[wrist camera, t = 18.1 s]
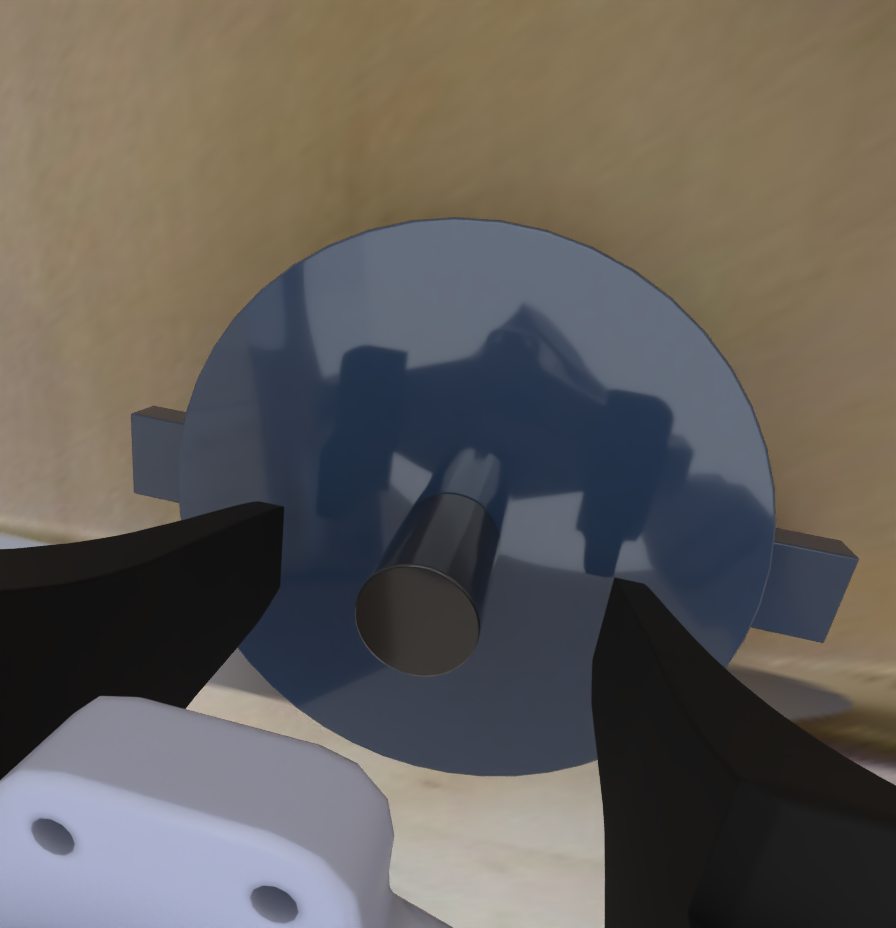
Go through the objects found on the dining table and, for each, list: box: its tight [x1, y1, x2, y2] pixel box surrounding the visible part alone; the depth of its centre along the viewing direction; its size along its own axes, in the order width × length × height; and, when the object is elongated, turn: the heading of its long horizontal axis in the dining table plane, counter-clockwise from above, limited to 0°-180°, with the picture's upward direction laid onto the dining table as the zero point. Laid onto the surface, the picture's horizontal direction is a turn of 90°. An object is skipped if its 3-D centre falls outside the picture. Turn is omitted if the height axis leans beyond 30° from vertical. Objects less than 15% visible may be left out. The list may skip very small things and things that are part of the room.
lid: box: [178, 217, 776, 776], centre depth 13 cm, size 14×14×5 cm
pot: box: [131, 406, 859, 643], centre depth 17 cm, size 13×19×4 cm
